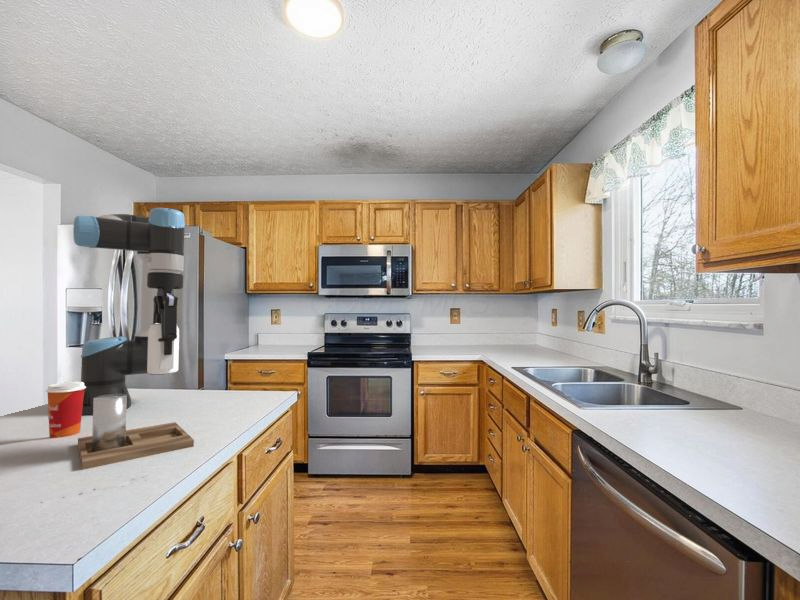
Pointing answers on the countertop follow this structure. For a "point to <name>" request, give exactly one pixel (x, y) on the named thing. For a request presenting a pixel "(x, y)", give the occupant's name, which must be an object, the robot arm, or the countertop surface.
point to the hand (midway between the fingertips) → (163, 366)
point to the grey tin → (109, 422)
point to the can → (154, 351)
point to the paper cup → (65, 408)
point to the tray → (136, 445)
